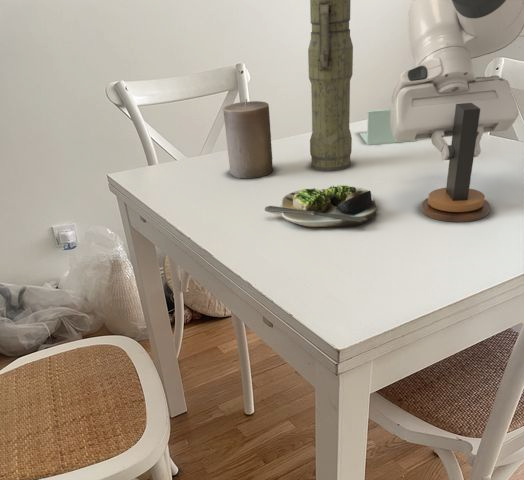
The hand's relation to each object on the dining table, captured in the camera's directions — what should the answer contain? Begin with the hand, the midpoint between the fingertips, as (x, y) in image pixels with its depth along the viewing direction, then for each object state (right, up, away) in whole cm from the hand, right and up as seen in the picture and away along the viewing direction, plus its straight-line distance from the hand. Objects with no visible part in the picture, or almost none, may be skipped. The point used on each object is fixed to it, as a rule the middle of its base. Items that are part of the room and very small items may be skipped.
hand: (461, 157), depth 87 cm
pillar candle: (-35, +8, +32) cm, 48 cm away
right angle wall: (-1, +22, +49) cm, 53 cm away
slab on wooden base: (0, -6, +4) cm, 8 cm away
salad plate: (-20, -7, +8) cm, 23 cm away
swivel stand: (+1, -7, +5) cm, 9 cm away
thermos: (-17, +10, +32) cm, 38 cm away
